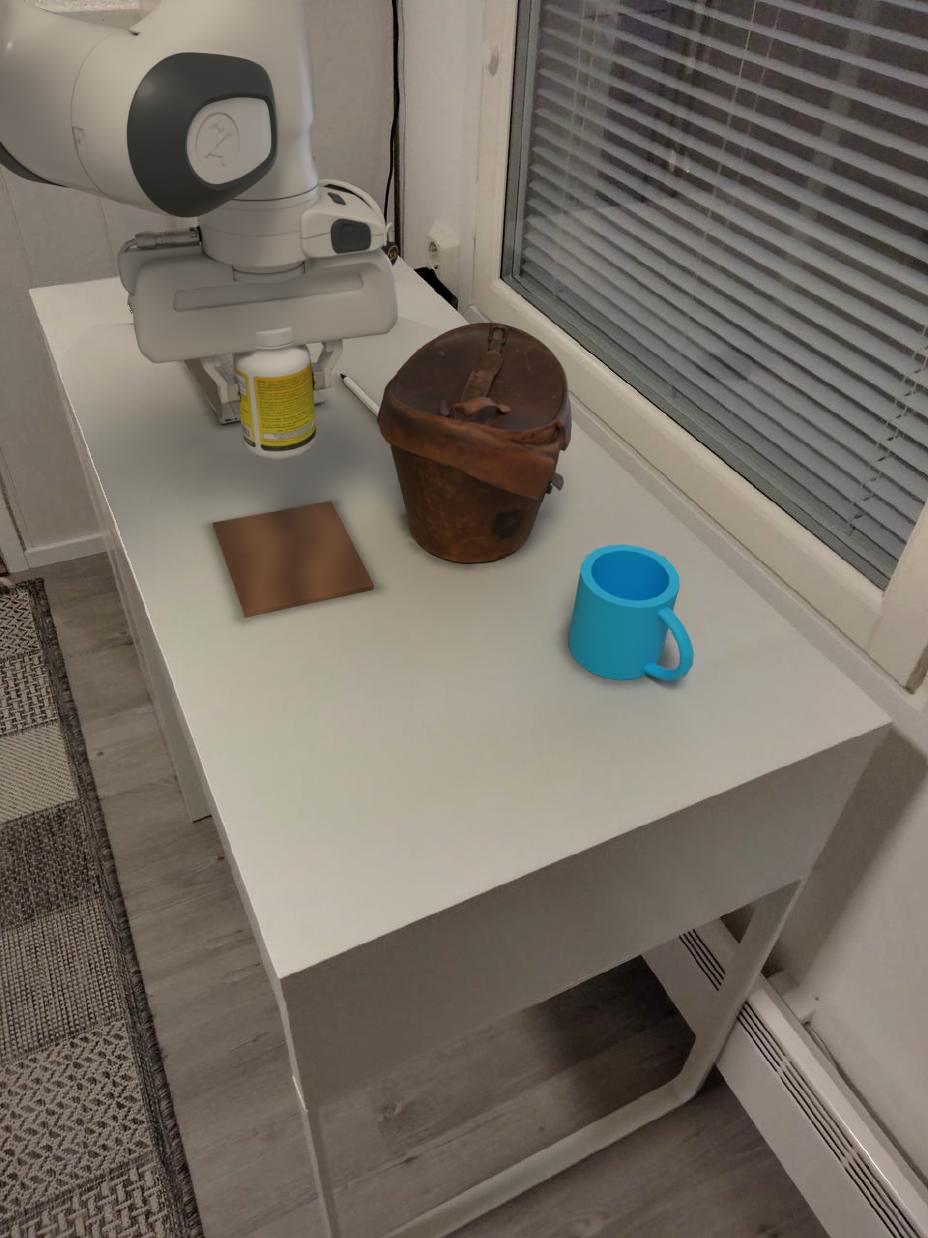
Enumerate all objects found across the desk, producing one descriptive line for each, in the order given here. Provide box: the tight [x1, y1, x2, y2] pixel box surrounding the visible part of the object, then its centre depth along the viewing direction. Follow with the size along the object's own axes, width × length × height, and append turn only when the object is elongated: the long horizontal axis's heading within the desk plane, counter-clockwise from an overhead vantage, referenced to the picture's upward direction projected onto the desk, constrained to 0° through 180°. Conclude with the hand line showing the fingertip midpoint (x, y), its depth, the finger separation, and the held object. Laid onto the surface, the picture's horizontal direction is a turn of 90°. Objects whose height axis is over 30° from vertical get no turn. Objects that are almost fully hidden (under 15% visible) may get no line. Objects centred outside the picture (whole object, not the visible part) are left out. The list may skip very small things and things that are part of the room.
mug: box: [567, 543, 695, 681], centre depth 79 cm, size 12×8×8 cm
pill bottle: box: [233, 327, 317, 460], centre depth 77 cm, size 6×6×11 cm
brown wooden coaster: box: [211, 500, 375, 618], centre depth 90 cm, size 12×14×1 cm
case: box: [376, 322, 573, 564], centre depth 89 cm, size 18×20×18 cm
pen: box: [339, 373, 380, 417], centre depth 110 cm, size 1×19×1 cm, turn 30°
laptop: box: [185, 354, 325, 424], centre depth 110 cm, size 18×12×13 cm
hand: (276, 392), depth 78 cm, fingers closed on pill bottle, 6 cm apart
